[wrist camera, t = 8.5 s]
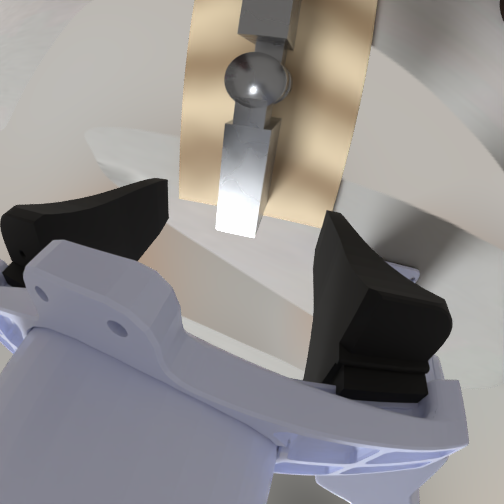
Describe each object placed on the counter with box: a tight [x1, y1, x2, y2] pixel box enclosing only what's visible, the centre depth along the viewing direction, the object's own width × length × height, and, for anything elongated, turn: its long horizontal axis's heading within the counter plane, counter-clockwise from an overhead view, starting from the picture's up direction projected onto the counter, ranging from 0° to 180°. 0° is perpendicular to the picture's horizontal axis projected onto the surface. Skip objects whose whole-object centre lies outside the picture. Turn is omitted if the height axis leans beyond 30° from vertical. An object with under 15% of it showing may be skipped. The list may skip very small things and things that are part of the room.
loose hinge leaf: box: [216, 52, 289, 238], centre depth 16 cm, size 10×3×5 cm, turn 173°
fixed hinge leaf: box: [237, 0, 302, 104], centre depth 11 cm, size 10×3×5 cm, turn 173°
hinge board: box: [179, 0, 377, 228], centre depth 16 cm, size 20×12×1 cm, turn 172°
